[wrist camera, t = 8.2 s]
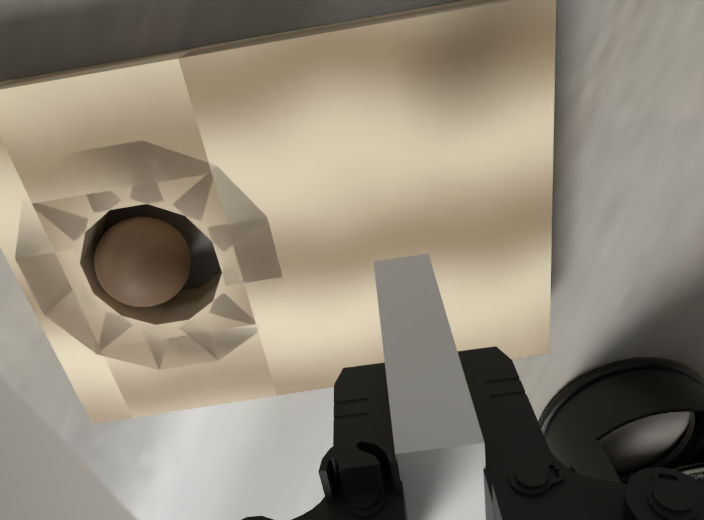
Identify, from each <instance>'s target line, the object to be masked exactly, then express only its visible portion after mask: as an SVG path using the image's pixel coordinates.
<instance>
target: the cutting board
mask: <svg viewBox="0 0 704 520" xmlns="http://www.w3.org/2000/svg"><path fill="white" fill-rule="evenodd" d="M555 43H556V0H465V1H459V2H453V3H448V4H442V5H436V6H431V7H425V8H419V9H413V10H408V11H402V12H396V13H391V14H385V15H379V16H373V17H368V18H362V19H356V20H351V21H345V22H339V23H333V24H328V25H322V26H316V27H311V28H305V29H299V30H293V31H288V32H282V33H276V34H271V35H265V36H259V37H253V38H248V39H242V40H236V41H231V42H225V43H219V44H213V45H208V46H202V47H196V48H190V49H185V50H179V51H173V52H168V53H162V54H156V55H150V56H145V57H139V58H133V59H128V60H122V61H116V62H110V63H105V64H99V65H93V66H88V67H82V68H76V69H70V70H65V71H59V72H53V73H48V74H42V75H36V76H30V77H25V78H19V79H13V80H8V81H2V82H0V247H1V249H2V251H3V253H4V255H5V257H6V259H7V261H8V263H9V265H10V267H11V269H12V270H13V272H14V274H15V276H16V278H17V280H18V282H19V284H20V286H21V288H22V290H23V292H24V293H25V295H26V297H27V299H28V301H29V303H30V305H31V307H32V309H33V311H34V313H35V315H36V316H37V318H38V320H39V322H40V324H41V326H42V328H43V330H44V332H45V334H46V336H47V338H48V339H49V341H50V343H51V345H52V347H53V349H54V351H55V353H56V355H57V357H58V359H59V361H60V362H61V364H62V366H63V368H64V370H65V372H66V374H67V376H68V378H69V380H70V382H71V384H72V385H73V387H74V389H75V391H76V393H77V395H78V397H79V399H80V401H81V403H82V405H83V407H84V408H85V410H86V412H87V414H88V416H89V418H90V420H91V422H92V424H94V423H101V422H107V421H114V420H120V419H127V418H133V417H140V416H146V415H153V414H159V413H166V412H172V411H179V410H185V409H192V408H198V407H205V406H211V405H218V404H224V403H231V402H237V401H244V400H250V399H257V398H263V397H270V396H276V395H283V394H289V393H296V392H302V391H309V390H315V389H322V388H328V387H334V384H335V382H336V380H337V378H338V376H339V375H340V373H341V371H342V369H343V368H347V367H354V366H362V365H369V364H377V363H384V362H385V360H384V351H383V342H382V333H381V324H380V316H379V307H378V298H377V289H376V280H375V271H374V262H373V261H379V260H386V259H393V258H400V257H407V256H414V255H421V254H429V257H430V261H431V264H432V268H433V271H434V274H435V278H436V281H437V284H438V288H439V291H440V294H441V298H442V301H443V305H444V308H445V311H446V315H447V318H448V321H449V325H450V328H451V332H452V335H453V338H454V342H455V345H456V348H457V351H464V350H472V349H479V348H487V347H495V346H497V347H498V348H499V349H500V350H501V351H502V352H503V353H505V354H506V355H507V356H508V357H509V358H510V359H517V358H523V357H530V356H536V355H543V354H549V347H550V296H551V245H552V195H553V144H554V93H555ZM143 204H149V205H152V206H155V207H159V208H162V209H165V210H168V211H171V212H174V213H178V214H181V215H184V216H186V217H187V218H188V219H189V220H190V221H191V222H192V223H193V224H194V225H195V226H196V227H197V228H198V229H199V230H201V231H202V232H203V233H204V234H205V235H206V236H207V237H208V238H209V239H210V240H211V241H212V242H213V246H214V249H215V252H216V255H217V258H218V262H219V265H220V268H221V272H219V273H218V274H217V275H216V276H214V277H213V278H212V279H211V280H209V281H208V282H207V283H206V284H204V285H203V286H202V287H198V288H192V289H186V290H180V291H179V292H178V293H177V294H176V295H175V296H174V297H172V298H171V299H169V300H168V301H166V302H164V303H161V304H158V305H155V306H150V307H135V306H130V305H127V304H124V303H122V302H119V301H118V300H116V299H114V298H113V297H112V296H110V295H109V294H108V293H107V292H106V291H105V290H104V288H103V287H102V286H101V284H100V282H99V280H98V278H97V275H96V272H95V267H94V257H95V251H96V248H97V245H98V243H99V241H100V239H101V238H102V236H103V235H104V234H103V233H104V228H105V223H106V218H107V213H108V211H109V210H113V209H119V208H125V207H131V206H137V205H143Z"/></svg>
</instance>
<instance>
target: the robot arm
mask: <svg viewBox="0 0 704 520" xmlns="http://www.w3.org/2000/svg"><path fill="white" fill-rule="evenodd" d="M373 262H374V271H375V280H376V289H377V298H378V307H379V316H380V324H381V333H382V342H383V351H384V360H385V362H384V363H377V364H369V365H362V366H354V367H347V368H343V369H342V371H341V373H340V375H339V376H338V378H337V380H336V382H335V384H334V442H333V447H332V448H330V449H329V451H328V452H327V453H326V455H325V456H324V457H323V459H322V461H321V465H320V469H319V475H320V479H321V482H322V486H323V490H324V494H325V497H324V498H323V500H322V501H321V502H320V503H319V504H318V505H317V506H316V507H314V508H313V509H312V510H310V511H308V512H307V513H305V514H303V515H301V516H299V517H297V518H294V519H292V520H704V485H703V484H701V483H700V482H699V481H697V480H696V479H695V478H693V477H692V476H689V475H687V474H685V473H682V472H680V471H677V470H675V469H668V468H662V467H653V468H647V469H641V470H640V471H638V472H637V473H635V474H633V475H632V476H631V477H630V479H629V481H628V483H627V484H625V483H619V482H613V481H607V480H600V479H595V478H591V477H587V476H583V475H581V474H579V473H577V472H574V471H572V470H571V469H569V468H568V467H566V466H565V465H563V463H562V462H560V461H559V460H558V459H557V458H556V457H555V456H554V455H553V453H552V452H551V450H550V448H549V447H548V444H547V442H546V440H545V437H544V435H543V432H542V430H541V428H540V425H539V423H538V421H537V418H536V416H535V414H534V411H533V409H532V406H531V404H530V402H529V399H528V397H527V395H526V394H525V390H524V388H523V385H522V383H521V381H520V380H519V376H518V373H517V371H516V369H515V366H514V364H513V362H512V360H511V359H510V358H509V357H508V356H507V355H506V354H505V353H503V352H502V351H501V350H500V349H499V348H498V347H497V346H495V347H487V348H479V349H472V350H464V351H457V348H456V345H455V342H454V338H453V335H452V332H451V328H450V325H449V321H448V318H447V315H446V311H445V308H444V305H443V301H442V298H441V294H440V291H439V288H438V284H437V281H436V278H435V274H434V271H433V268H432V264H431V261H430V257H429V254H421V255H414V256H407V257H400V258H393V259H386V260H379V261H373ZM242 520H273V519H270V518H267V517H264V516H254V517H246V518H244V519H242Z"/></svg>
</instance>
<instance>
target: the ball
mask: <svg viewBox="0 0 704 520" xmlns="http://www.w3.org/2000/svg"><path fill="white" fill-rule="evenodd" d="M94 267H95V272H96V275H97V278H98V280H99V282H100V284H101V286H102V287H103V288H104V290H105V291H106V292H107V293H108V294H109V295H110V296H112V297H113V298H114V299H116V300H118V301H119V302H122V303H124V304H127V305H130V306H135V307H150V306H155V305H158V304H161V303H164V302H166V301H168V300H169V299H171V298H172V297H174V296H175V295H176V294H177V293H178V292H179V291H180V290H181V289H182V287H183V286H184V285H185V283H186V281H187V279H188V277H189V273H190V269H191V254H190V250H189V247H188V244H187V242H186V240H185V239H184V237H183V236H182V235H181V233H180V232H179V231H178V230H177V229H176V228H175V227H173V226H172V225H170V224H169V223H167V222H165V221H163V220H160V219H158V218H154V217H146V216H138V217H132V218H128V219H125V220H122V221H120V222H118V223H117V224H115V225H113V226H112V227H111V228H110V229H109V230H108V231H107V232H105V234H104V235H103V236H102V238H101V239H100V241H99V243H98V245H97V248H96V251H95V257H94Z"/></svg>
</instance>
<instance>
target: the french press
mask: <svg viewBox="0 0 704 520" xmlns="http://www.w3.org/2000/svg"><path fill="white" fill-rule="evenodd" d="M683 411H690V413H691V417H690V425H689V427H688V430H687V433H686V434H685V436H684V438H683V439H682V441H681V442H680V443H679V445H678V446H677V447H676V448H675V449H674V450H673V451H672V452H671V453H670V454H668V455H667V456H666V457H665V458H663V459H662V460H660V461H659V462H657V463H655V464H654V465H652V466H650V467H647V468H653V467H662V468H668V469H675V470H677V471H680V472H682V473H685V474H687V475H689V476H692V477H693V478H695V479H696V480H697V481H699V482H700V483H701V484H703V485H704V380H703V378H702V377H701V376H700V375H699V374H698V373H696V372H695V371H693V370H692V369H690V368H688V367H687V366H685V365H683V364H680V363H677V362H674V361H671V360H666V359H658V358H634V359H629V360H624V361H618V362H614V363H611V364H608V365H605V366H602V367H600V368H597V369H595V370H593V371H591V372H589V373H587V374H585V375H583V376H581V377H579V378H578V379H576V380H575V381H573V382H572V383H571V384H569V385H568V386H566V387H565V388H564V389H563V390H562V391H561V392H560V393H559V394H558V395H557V396H556V397H554V398H553V399H552V401H551V402H550V403H549V405H548V406H547V408H546V409H545V410H544V412H543V413H542V416H541V418H540V420H539V422H538V423H539V425H540V428H541V430H542V432H543V435H544V437H545V440H546V442H547V444H548V447H549V448H550V450H551V452H552V453H553V455H554V456H555V457H556V458H557V459H558V460H559V461H560V462H562V463H563V465H565V466H566V467H568V468H569V469H571V470H572V471H574V472H577V473H579V474H581V475H583V476H587V477H591V478H595V479H600V480H607V481H613V482H619V483H625V484H627V483H628V481H629V479H630V477H631V476H632V475H633V474H635V473H637V472H638V471H637V472H634V473H631V474H627V475H621V476H619V475H618V474H617V472H616V470H615V469H614V467H613V465H612V463H611V462H610V460H609V458H608V456H607V455H606V453H605V451H604V450H603V448H602V446H601V444H600V443H599V441H598V440H600V439H601V438H603V437H604V436H606V435H607V434H609V433H611V432H612V431H614V430H616V429H618V428H620V427H622V426H624V425H626V424H628V423H630V422H633V421H636V420H639V419H642V418H645V417H648V416H651V415H657V414H662V413H668V412H683ZM647 468H645V469H647Z"/></svg>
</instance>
